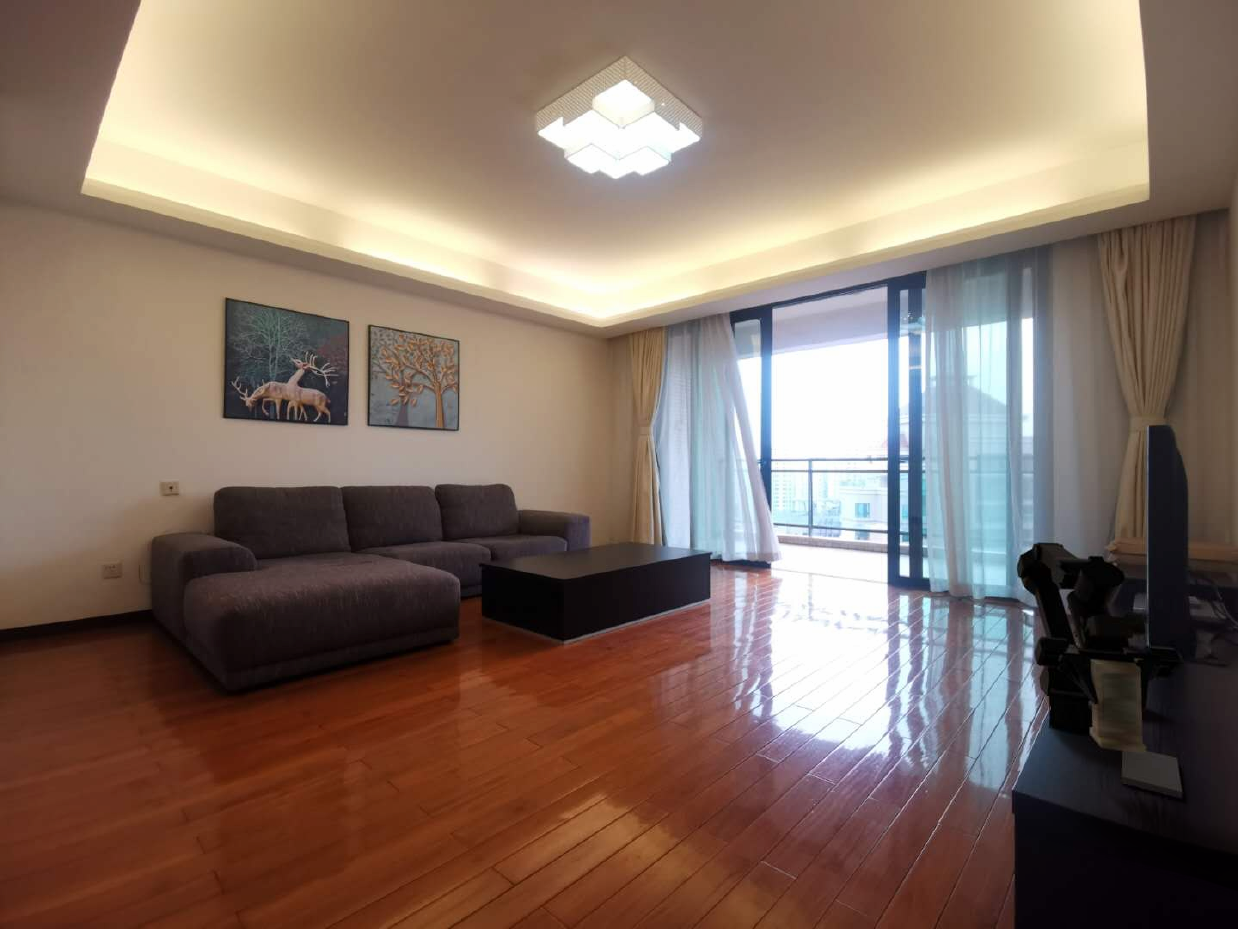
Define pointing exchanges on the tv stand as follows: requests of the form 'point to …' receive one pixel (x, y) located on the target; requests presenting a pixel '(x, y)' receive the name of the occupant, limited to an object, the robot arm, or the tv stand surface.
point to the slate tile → (1151, 771)
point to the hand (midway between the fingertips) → (1119, 706)
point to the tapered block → (1117, 706)
